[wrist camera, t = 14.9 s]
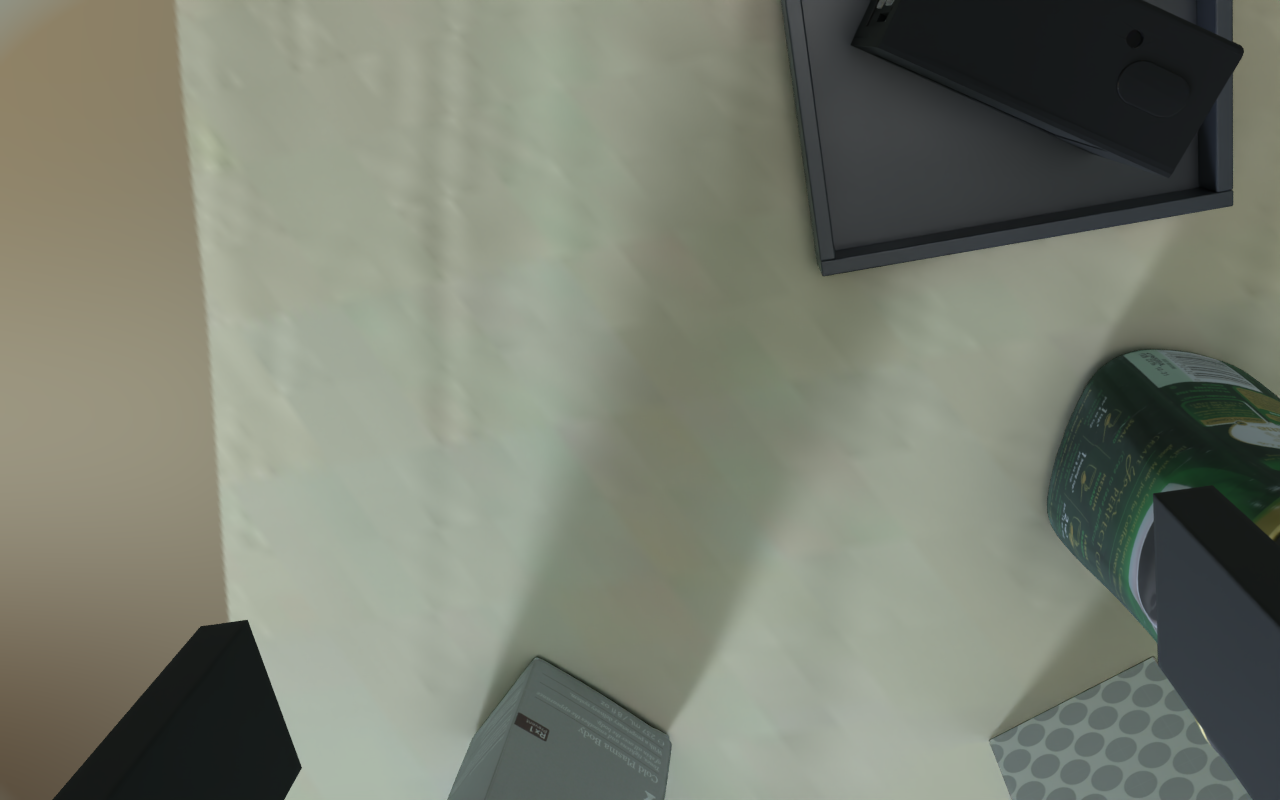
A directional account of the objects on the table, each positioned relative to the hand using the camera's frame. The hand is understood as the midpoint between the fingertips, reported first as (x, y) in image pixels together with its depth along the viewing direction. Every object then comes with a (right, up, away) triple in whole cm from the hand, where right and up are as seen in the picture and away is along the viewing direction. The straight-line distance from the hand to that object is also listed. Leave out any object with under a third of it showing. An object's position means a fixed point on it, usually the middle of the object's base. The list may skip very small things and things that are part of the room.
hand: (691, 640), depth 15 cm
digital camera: (+13, +17, +23) cm, 32 cm away
